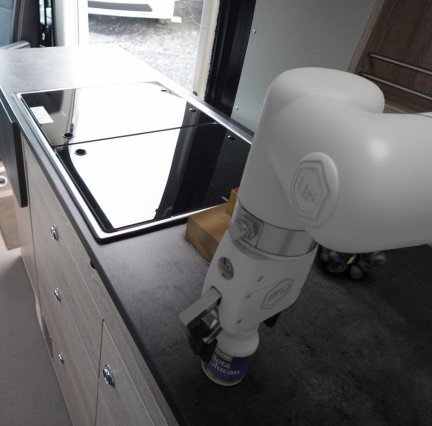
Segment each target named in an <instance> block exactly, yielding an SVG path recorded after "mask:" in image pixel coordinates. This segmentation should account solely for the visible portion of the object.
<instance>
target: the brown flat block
mask: <svg viewBox="0 0 432 426" xmlns="http://www.w3.org/2000/svg"><path fill="white" fill-rule="evenodd" d="M220 198H221V199H223V201H225V202H224V203H222V204H219V205H216V206H214V207H213V206H212V207H209V208H207V209H204V210H201V211H198V212H195V213H192V214H189V215H188V217H187V222H186V226H185V233H184V237H183V238H184V239H185V240H186V241H187V242H188V243H189V244H190V245H191V246H192V247H193V248H194V249H196V251H198V252H199V254H201V256H202V257H204V258H205V259H206V260H207V261H208V262H209V263H210V264H211V262H212V259H213V257H214V254H215V252H216V250H217V248H218V246H219V243H220V241H221V240H222V238H223V236H224V234H225V232H226V230H227V229H228V227H229V221H230V217H231V215H230V214H228V213H227V212H226V210H227V206H228V202H229V199H227V198H226V197H225V196H221V197H220Z"/></svg>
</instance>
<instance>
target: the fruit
mask: <svg viewBox="0 0 432 426" xmlns="http://www.w3.org/2000/svg"><path fill="white" fill-rule="evenodd" d="M320 246H321V247H320V249H321V252H320V254H319V258H320V260H321V261H322V262H323V263H325V264H326V269H327V271H328V272H330V273H332V274H339V273H340V274H342V275H343V274H346V273H348V275H349V276H350V277H351V278H353V279H360V278H362V277H363V276H364V272H366V273H368V272H372V271H373V270H374V269H375V268H376V267H377V268H382V267H383V266H385V265H386V263H387V257H386V255H385V253H383V252H382V250H380V251H374V252H366V253H346V252H338V251H334V250H331V249H328V248H326V247H324V246H322V245H320Z"/></svg>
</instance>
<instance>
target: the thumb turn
mask: <svg viewBox="0 0 432 426" xmlns="http://www.w3.org/2000/svg"><path fill="white" fill-rule="evenodd" d="M238 190H239V187H235V188H233V189H231V191H230V194H229V199H228V201H227V202H228V206H227V210H226V212H227V213H228V214H230V215H231V214H232V211H233V207H234V204H235V200H236V197H237V193H238Z"/></svg>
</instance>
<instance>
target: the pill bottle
mask: <svg viewBox="0 0 432 426" xmlns="http://www.w3.org/2000/svg"><path fill="white" fill-rule="evenodd" d="M216 322H218V321H217V320H216V319H215V318H214V320H213V321H212V322H211V324H210V327H209V328H210V329H211V328H212V327H213V326H214V325H215V324H216ZM259 327H260V323H258V324H256V325H254V326H253V327H251V328H249V329H247V330H245V331H243V332H240V333H237V334H228V333H227V332H226V331H225V330H224V329H223V330H222V331H221V333H220V334H219V335H218V336H217V337H216V339H217V341H218V343H217V346H216V348H215V351H214V354H213V357H212V360H211V362H209V363H208V364H205V363H204V361H203V360H202V359H201V358H200V363H201V368H202V370H203V372H204V373H205V375H206V376H207V378H208V379H210V380H211V381H212V382H214V383H216V384H218V385H221V386H225V387H226V386H228V387H229V386H230V387H231V386H235V385H236V384H237V385H238V384H239V383H240V382H241V381H242V380H243V379H244V377H245V375H246V373H247V371H248V368H249V366H250V364H251V363H252V359H253V357H254V355H255V353H256V352H257V349H258V347H259V343H260V335H259V332H258V329H259Z"/></svg>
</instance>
